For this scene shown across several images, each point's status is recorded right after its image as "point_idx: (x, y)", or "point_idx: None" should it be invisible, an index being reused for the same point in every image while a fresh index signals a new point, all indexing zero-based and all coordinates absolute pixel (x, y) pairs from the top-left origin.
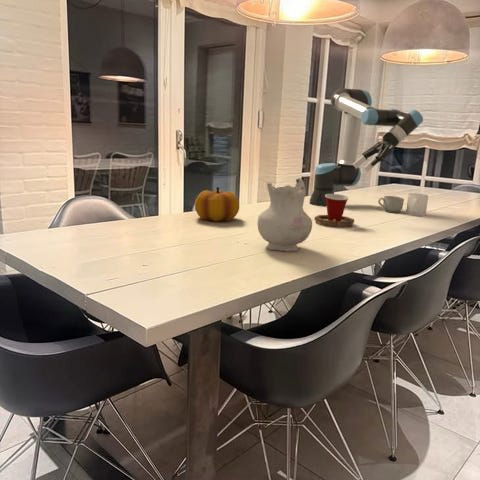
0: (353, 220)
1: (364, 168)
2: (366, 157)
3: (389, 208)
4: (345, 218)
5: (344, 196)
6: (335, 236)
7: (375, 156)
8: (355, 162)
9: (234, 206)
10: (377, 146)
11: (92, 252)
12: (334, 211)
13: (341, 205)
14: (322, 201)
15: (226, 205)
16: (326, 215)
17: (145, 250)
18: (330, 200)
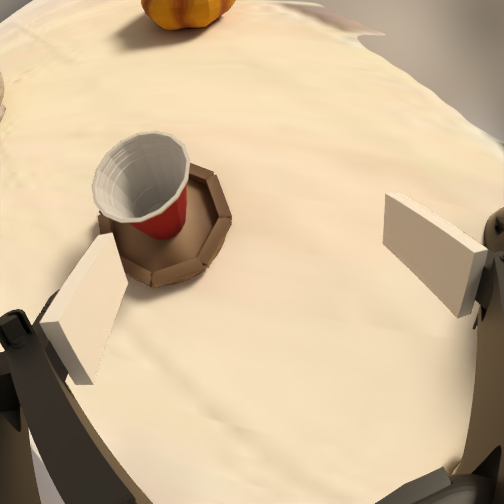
0: (137, 278)
1: (111, 244)
2: (485, 312)
3: (454, 472)
4: (189, 261)
5: (159, 209)
6: (22, 205)
7: (10, 317)
8: (404, 202)
9: (151, 11)
10: (497, 501)
11: (35, 10)
12: (127, 194)
13: (113, 205)
14: (494, 236)
15: (145, 4)
16: (212, 195)
17: (27, 28)
18: (120, 156)
